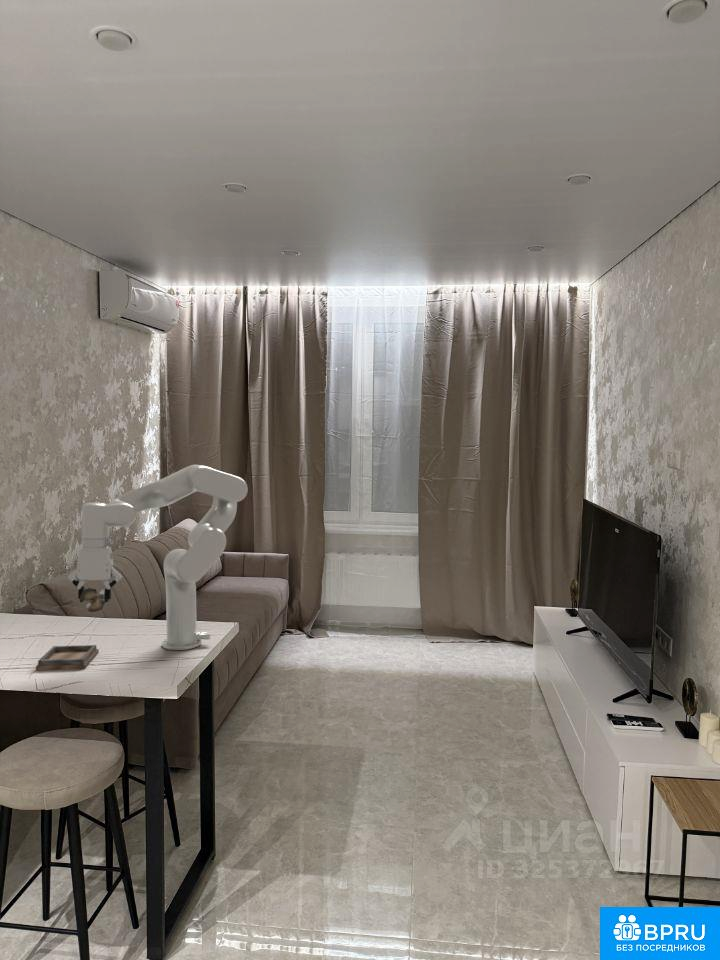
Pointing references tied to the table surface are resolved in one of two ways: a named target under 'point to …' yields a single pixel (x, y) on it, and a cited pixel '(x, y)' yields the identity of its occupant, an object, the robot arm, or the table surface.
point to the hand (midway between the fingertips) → (94, 600)
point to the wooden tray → (67, 657)
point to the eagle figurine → (93, 599)
